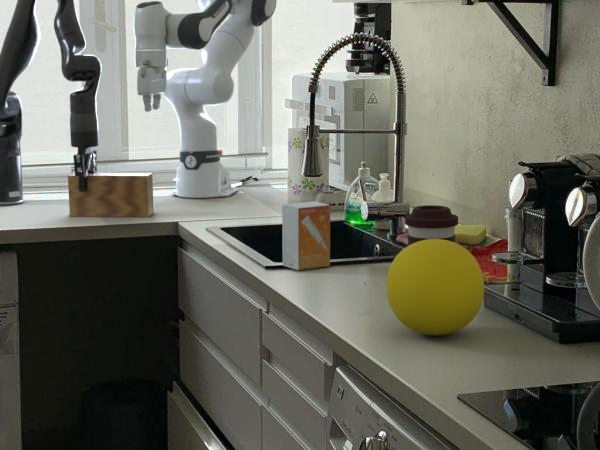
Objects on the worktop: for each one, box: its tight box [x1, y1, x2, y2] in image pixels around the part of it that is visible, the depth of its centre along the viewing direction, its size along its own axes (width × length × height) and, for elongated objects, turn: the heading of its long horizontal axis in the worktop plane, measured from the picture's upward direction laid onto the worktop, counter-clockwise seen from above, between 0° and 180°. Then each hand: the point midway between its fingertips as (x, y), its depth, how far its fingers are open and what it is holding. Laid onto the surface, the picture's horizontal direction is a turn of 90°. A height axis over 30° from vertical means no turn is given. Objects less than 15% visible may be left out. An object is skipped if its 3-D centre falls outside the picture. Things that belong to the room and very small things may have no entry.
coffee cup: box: [404, 204, 459, 246], centre depth 197 cm, size 10×10×15 cm
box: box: [67, 172, 155, 218], centre depth 287 cm, size 22×6×11 cm, turn 85°
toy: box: [385, 239, 485, 336], centre depth 164 cm, size 15×15×15 cm
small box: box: [281, 200, 331, 271], centre depth 216 cm, size 8×6×13 cm
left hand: (87, 189), depth 288 cm, fingers closed on box, 6 cm apart
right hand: (152, 110), depth 294 cm, fingers open, 8 cm apart
